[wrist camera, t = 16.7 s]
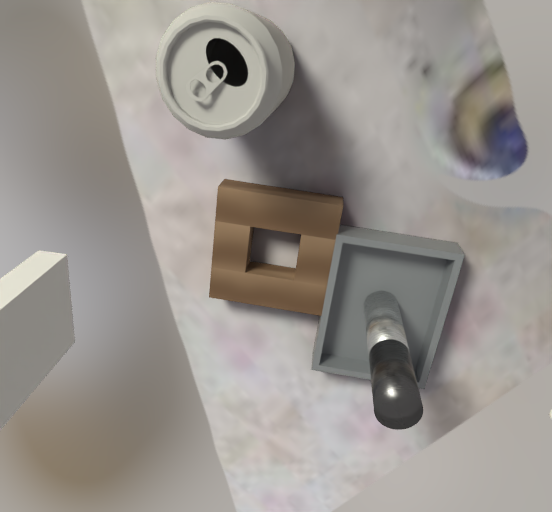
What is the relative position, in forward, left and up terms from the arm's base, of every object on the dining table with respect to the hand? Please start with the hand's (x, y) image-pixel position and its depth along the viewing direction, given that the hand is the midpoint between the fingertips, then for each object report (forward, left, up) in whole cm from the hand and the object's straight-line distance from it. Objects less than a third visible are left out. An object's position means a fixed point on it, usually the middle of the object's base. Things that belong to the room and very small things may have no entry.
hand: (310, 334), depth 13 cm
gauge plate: (+9, -3, -29) cm, 31 cm away
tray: (+14, +7, -29) cm, 33 cm away
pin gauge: (+14, +7, -29) cm, 33 cm away
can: (-4, -7, -30) cm, 31 cm away
